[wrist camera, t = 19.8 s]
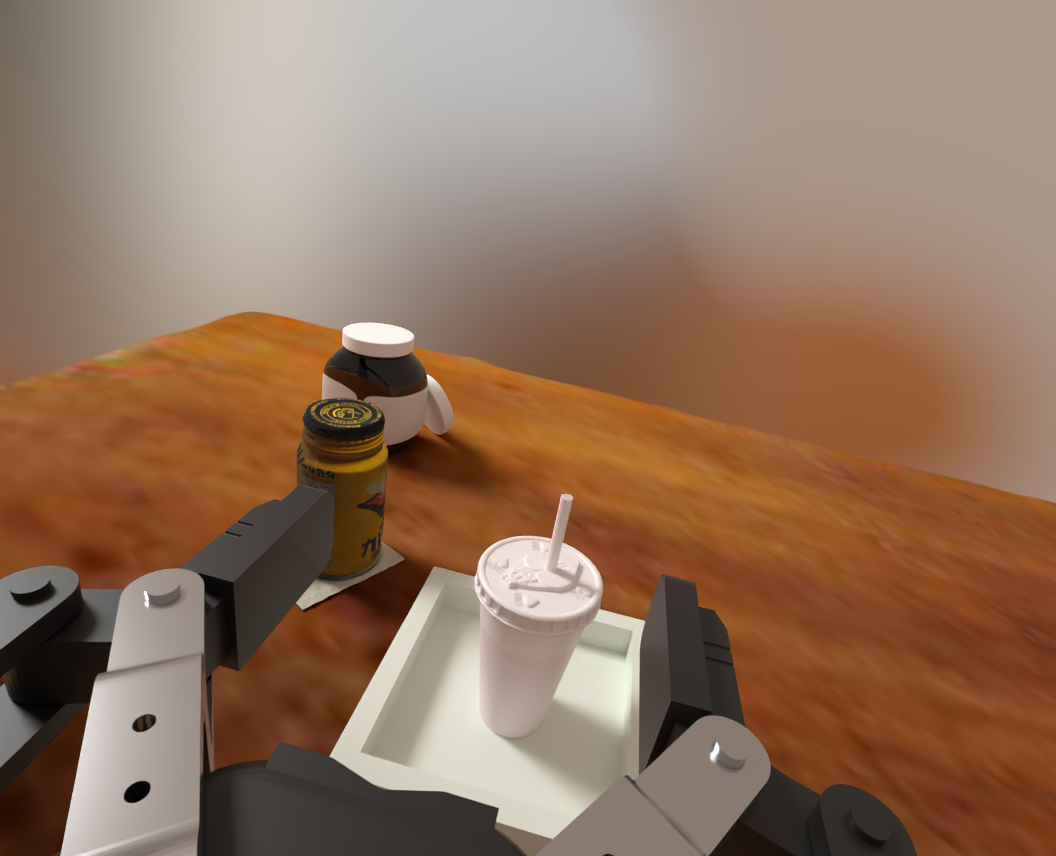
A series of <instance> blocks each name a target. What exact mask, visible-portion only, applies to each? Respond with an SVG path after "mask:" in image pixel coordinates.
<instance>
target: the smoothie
mask: <svg viewBox="0 0 1056 856" xmlns="http://www.w3.org/2000/svg"><path fill="white" fill-rule="evenodd" d="M572 500H573V497H572V496H571V495H568V494H563V495H561V499H560V504H559V509H558V513H557V518H556V522H555V527H554V531H553V536H552V539H549V538H544V537H537V536H518V537H511V538H508V539H504V540H501V541H499V542H497V543H495V544H493V545H492V546H490V547H489V548H488V549H487V550H486V551H485V552H484V553H483V555H482V556H481V558H480V560H479V564H478V570H477V573H476V576H475V579H474V582H475V592H476V594H477V596H478V598H479V601H480V677H479V711H480V715H481V718H482V720H483V722H484V723H485V724H486V726H487V727H488V728H489V729H490V730H492V731H493V732H494V733H496V734H498V735H500V736H503V737H506V738H515V739H516V738H523V737H526V736H529V735H531V734H532V733H534V732H535V731H536V730H537V729H538V728H539V727H540V725H541V723H542V721H543V719H544V716H545V714H546V712H547V710H548V708H549V705H550V703H551V701H552V699H553V696H554V694H555V692H556V690H557V688H558V685H559V683H560V681H561V679H562V676H563V674H564V672H565V670H566V667H567V665H568V663H569V661H570V659H571V656H572V654H573V652H574V650H575V647H576V645H577V643H578V641H579V639H580V637H581V635H582V632H583V630H584V628H585V627H586V626H587V625H588V624H589V623H590V622H591V621H592V620H593V619H594V618H595V617H596V615H597V613H598V611H599V608H600V600H601V597H602V593H603V582H602V578H601V576H600V573H599V572H598V570H597V568H596V567H595V566H594V564H593V563H592V562H591V561H590V560H589V559H588V558H587V557H586V556H585V555H583V554H582V553H581V552H579V551H578V550H576V549H575V548H573V547H571V546H569V545H567V544H565V543H563V539H564V534H565V530H566V526H567V522H568V517H569V513H570V509H571V504H572Z"/></svg>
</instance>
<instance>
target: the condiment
mask: <svg viewBox="0 0 1056 856" xmlns="http://www.w3.org/2000/svg"><path fill="white" fill-rule="evenodd" d="M303 422H304V428H303V433H302V438H303V441H302V442H301V443H300V445H299V447H298V450H297V487H298V486H300V485H305V486H309V487H313V488H317V489H321V490H325V491H329V492H332V493H333V495H334V499H335V504H334V540H333V550H332V553H331V556H330V559H329V561H328V563H327V565H326V567H325V568H324V570H323V571H322V572H321V573H320V575H319V576H318V577H317V578H316V579H315V581H314V582H313V583H312V584H311V585H310V587H309V588H308V589H307V590H306V591H305V593H304V594H303V595H302V596H301V597H300V599H299V600H298V601H297V602H296V604H297V605H298V606H299V607H300V608H301V609H302V610H303V609H305V608H307V607H309V606H311V605H312V604H314V603H317V602H319V601H322V600H324V599H325V598H327V597H328V596H330V595H333V594H335V593H337V592H339V591H341V590H343V589H345V588H348V587H350V586H352V585H354V584H357V583H359V582H361V581H363V580H366V579H367V578H369V577H371V576H373V575H375V574H377V573H379V572H382V571H384V570H386V569H387V568H389V567H391V566H394V565H395V564H397V563H399V562H401V561H402V560H404V559H405V558H403V557H402V556H401V555H399V554H398V553H397V552H396V551H394V550H393V549H392V548H390V547H388V546H387V545H386V544H385V543H383V542H382V533H383V520H384V503H385V491H386V490H385V489H386V476H387V468H388V449H387V447H386V445H385V443H384V438H385V436H384V424H385V417H384V414H383V412H382V411H381V410H380V409H379V408H378V407H377V406H375V405H373V404H372V403H371V402H365V401H362V400H359V399H349V398H334V399H324V400H320V401H317V402H315V403H312V404H311V405H310V406H309V407H308V408H307V410H306V412H305V414H304V416H303ZM318 580H319V581H318Z"/></svg>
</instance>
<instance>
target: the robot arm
mask: <svg viewBox="0 0 1056 856" xmlns="http://www.w3.org/2000/svg"><path fill="white" fill-rule="evenodd" d="M334 504H335V499H334V495H333V493H332V492H329V491H325V490H321V489H317V488H313V487H309V486H305V485H300V486H298V487H297V488H296V489H295V490H293V491H292V492H291V493H290V494H289V495H288V496H287V497H285V498H284V499H283V500H282V501H280V500H276V499H274V500H272V501H269V502H267V503H264V504H262V505H260V506H257V507H255V508H253V509H252V510H250V511H249V512H248V513H247V514H246V515H244V516H243V517H242V518H241V519H240V520H238V523H237V524H236V523H235V524H233V525H232V526H231V527H230V528H229V529H227V530H226V532H225V534H221V535H220V536H219V537H218V538H216V539H215V540H214V541H213V542H212V543H210V544H209V545H208V546H207V547H206V548H204V549H203V550H202V551H201V552H199V553H198V554H197V555H196V556H195V557H193V558H192V559H191V560H190V561H189V562H187V563H186V564H185V565H184V566H182V567H181V568H180V569H165V570H160V571H156V572H152V573H149V574H147V575H144V576H142V577H140V578H138V579H137V580H135V581H133V582H132V583H131V584H130V585H128V586H127V587H126V588H125V589H123V590H111V589H81V588H80V583H79V578H78V576H77V574H76V573H75V572H74V571H73V570H71V569H69V568H66V567H61V566H40V567H34V568H29V569H25V570H22V571H19V572H16V573H14V574H11V575H9V576H7V577H5V578H3V579H1V580H0V678H1V677H3V680H4V684H3V685H2V686H1V687H0V793H1V792H2V791H3V790H4V789H5V788H6V787H7V786H8V785H9V784H10V783H11V782H12V781H13V780H14V779H15V778H16V777H17V776H18V775H19V774H20V773H21V772H22V771H23V770H24V769H25V768H26V767H27V765H28V764H29V763H30V762H31V761H32V760H33V759H34V758H35V757H36V756H37V755H38V754H39V753H40V752H41V751H42V750H43V749H44V748H45V747H46V746H47V745H48V744H49V743H50V742H51V741H52V740H53V739H54V738H55V737H56V736H57V735H58V734H59V733H60V732H61V731H62V730H63V729H64V728H65V727H66V726H67V725H68V724H69V723H70V722H71V721H72V720H73V719H74V718H75V717H76V716H77V715H78V714H79V713H80V712H81V711H82V710H83V709H84V708H85V707H86V706H87V705H88V704H89V703H90V707H89V713H88V718H87V723H86V728H85V733H84V738H83V743H82V748H81V753H80V758H79V763H78V769H77V774H76V779H75V784H74V789H73V794H72V799H71V804H70V809H69V814H68V819H67V825H66V830H65V835H64V840H63V845H62V850H61V851H59V852H58V853H56V854H54V855H52V856H527V855H526V854H525V853H524V852H523V850H522V849H521V848H520V847H519V846H518V845H517V844H516V843H514V842H513V841H512V840H511V839H510V838H509V837H507V836H506V835H505V834H503V833H502V832H500V831H499V830H497V829H496V828H495V824H496V819H497V815H498V811H499V808H497V807H494V806H490V805H487V804H484V803H481V802H477V801H474V800H471V799H467V798H464V797H461V796H457V795H454V794H451V793H447V792H444V791H415V790H386V789H381V788H378V787H377V786H375V785H373V784H372V783H370V782H369V781H367V780H366V779H364V778H363V777H361V776H360V775H358V774H357V773H355V772H354V771H352V770H350V769H349V768H347V767H346V766H344V765H343V764H341V763H340V762H338V761H337V760H335V759H334V758H332V757H328V756H325V755H322V754H319V753H315V752H312V751H309V750H305V749H302V748H299V747H295V746H292V745H289V744H285V743H282V742H280V743H279V745H278V747H277V748H276V750H275V751H274V753H273V754H272V756H271V757H270V759H269V760H258V761H247V762H242V763H237V764H233V765H229V766H226V767H223V768H219V769H216V770H214V710H213V676H212V673H213V671H214V670H215V669H216V668H217V667H218V666H219V665H220V666H223V667H227V668H230V669H234V670H237V671H239V670H240V669H241V668H242V667H243V666H244V664H245V663H246V662H247V661H248V660H249V658H250V657H251V656H252V655H253V654H254V652H255V651H256V650H257V649H258V648H259V647H260V645H261V644H262V643H263V642H264V641H265V639H266V638H267V637H268V636H269V635H270V633H271V632H272V631H273V630H274V629H275V627H276V626H277V625H278V624H279V623H280V621H281V620H282V619H283V618H284V617H285V615H286V614H287V613H288V612H289V611H290V609H291V608H292V607H293V606H294V605H295V603H296V602H297V601H298V600H299V599H300V597H301V596H302V595H303V594H304V593H305V591H306V590H307V589H308V588H309V587H310V585H311V584H312V583H313V582H314V581H315V579H316V578H317V577H318V576H319V575H320V573H321V572H322V571H323V570H324V568H325V567H326V565H327V563H328V561H329V559H330V556H331V553H332V550H333V540H334ZM535 856H917V854H916V851H915V848H914V845H913V843H912V840H911V838H910V836H909V834H908V832H907V830H906V829H905V827H904V826H903V824H902V823H901V822H900V820H899V819H898V818H897V817H896V815H895V814H894V813H893V812H892V811H891V810H890V809H889V808H888V807H887V806H886V805H885V804H883V803H882V802H881V801H880V800H878V799H877V798H875V797H874V796H872V795H871V794H869V793H867V792H866V791H864V790H862V789H859V788H857V787H854V786H850V785H844V784H837V785H832V786H830V787H828V788H827V789H826V790H825V791H824V792H823V794H822V795H819V794H817V793H816V792H814V791H812V790H810V789H809V788H807V787H805V786H803V785H802V784H800V783H798V782H796V781H795V780H793V779H791V778H789V777H788V776H786V775H784V774H783V773H781V772H780V771H778V770H777V769H776V768H774V767H773V766H772V765H771V764H770V760H769V757H768V755H767V752H766V750H765V749H764V747H763V745H762V744H761V742H760V741H759V740H758V739H757V738H756V737H755V735H754V734H752V733H751V732H750V731H749V730H748V729H747V728H746V727H745V723H744V718H743V712H742V707H741V702H740V697H739V691H738V686H737V681H736V675H735V670H734V668H733V660H732V654H731V652H730V644H729V638H728V633H727V629H726V627H725V626H724V624H723V623H722V621H721V620H720V618H719V617H718V615H717V614H716V612H715V611H714V610H710V609H706V608H702V607H699V606H698V598H697V591H696V585H695V583H694V582H691V581H687V580H683V579H679V578H675V577H671V576H667V575H661V577H660V579H659V582H658V585H657V588H656V591H655V594H654V597H653V600H652V603H651V606H650V609H649V612H648V615H647V618H646V621H645V624H644V628H643V632H642V637H641V643H640V671H639V776H638V777H637V778H635V779H634V780H632V779H631V778H630V777H629V776H628V775H625V776H623V777H621V778H620V779H618V780H617V781H616V782H615V783H613V784H612V785H611V786H610V787H609V788H608V789H607V790H606V791H605V792H604V793H603V794H601V795H600V796H599V797H598V798H597V799H596V800H595V801H594V802H593V803H592V804H591V805H589V806H588V807H587V808H586V809H585V810H584V811H583V812H582V813H581V814H580V815H579V816H577V817H576V818H575V819H574V820H573V821H572V822H571V823H570V824H569V825H568V826H567V827H566V828H564V829H563V830H562V831H561V832H560V833H559V834H558V835H557V836H556V837H555V838H554V839H552V840H551V841H550V842H549V843H548V844H547V845H546V846H545V847H544V848H543V849H542V850H540V851H539V852H538V853H537V854H536V855H535Z"/></svg>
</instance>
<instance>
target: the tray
mask: <svg viewBox="0 0 1056 856" xmlns="http://www.w3.org/2000/svg"><path fill="white" fill-rule="evenodd" d="M474 579H475V577H474V576H470V575H466V574H462V573H458V572H455V571H451V570H447V569H443V568H439V567H435V566H434V568H433V570H432V571H431V573H430V575H429V577H428V579H427V580H426V582H425V584H424V586H423V588H422V589H421V591H420V593H419V595H418V597H417V599H416V600H415V602H414V604H413V606H412V608H411V609H410V611H409V613H408V615H407V617H406V619H405V620H404V622H403V624H402V626H401V628H400V629H399V631H398V633H397V635H396V637H395V638H394V640H393V642H392V644H391V646H390V648H389V649H388V651H387V653H386V655H385V657H384V658H383V660H382V662H381V664H380V666H379V668H378V669H377V671H376V673H375V675H374V677H373V678H372V680H371V682H370V684H369V686H368V687H367V689H366V691H365V693H364V695H363V697H362V698H361V700H360V702H359V704H358V706H357V707H356V709H355V711H354V713H353V715H352V717H351V718H350V720H349V722H348V724H347V726H346V727H345V729H344V731H343V733H342V735H341V736H340V738H339V740H338V742H337V744H336V746H335V747H334V749H333V751H332V753H331V755H330V756H329V757H332V758H334V759H335V760H337V761H338V762H340V763H341V764H343V765H344V766H346V767H347V768H349V769H350V770H352V771H354V772H355V773H357V774H358V775H360V776H361V777H363V778H364V779H366V780H367V781H369V782H370V783H372V784H373V785H375V786H377V787H378V788H381V789H386V790H415V791H444V792H447V793H451V794H454V795H457V796H461V797H464V798H467V799H471V800H474V801H477V802H481V803H484V804H487V805H490V806H494V807H497V808H499V811H498V815H497V819H496V824H495V828H496V829H497V830H499V831H500V832H502V833H503V834H505V835H506V836H507V837H509V838H510V839H511V840H512V841H513V842H514V843H516V844H517V845H518V846H519V847H520V848H521V849H522V850H523V852H524V853H525V854H526V855H527V856H535V855H536V854H537V853H538V852H539V851H540V850H542V849H543V848H544V847H545V846H546V845H547V844H548V843H549V842H550V841H551V840H552V839H554V838H555V837H556V836H557V835H558V834H559V833H560V832H561V831H562V830H563V829H564V828H566V827H567V826H568V825H569V824H570V823H571V822H572V821H573V820H574V819H575V818H576V817H577V816H579V815H580V814H581V813H582V812H583V811H584V810H585V809H586V808H587V807H588V806H589V805H591V804H592V803H593V802H594V801H595V800H596V799H597V798H598V797H599V796H600V795H601V794H603V793H604V792H605V791H606V790H607V789H608V788H609V787H610V786H611V785H612V784H613V783H615V782H616V781H617V780H618V779H620V778H621V777H623V776H625V775H628V776H629V777H630V778H631V779H632V780H634V779H635V778H637V777H638V776H639V671H640V643H641V637H642V632H643V628H644V624H645V621H643V620H639V619H635V618H631V617H627V616H623V615H620V614H616V613H612V612H608V611H604V610H600V609H599V611H598V613H597V615H596V617H595V618H594V619H593V620H592V621H591V622H590V623H589V624H588V625H587V626H586V627H585V628H584V630H583V632H582V635H581V637H580V639H579V641H578V643H577V645H576V647H575V650H574V652H573V654H572V656H571V659H570V661H569V663H568V665H567V667H566V670H565V672H564V674H563V676H562V679H561V681H560V683H559V685H558V688H557V690H556V692H555V694H554V696H553V699H552V701H551V703H550V705H549V708H548V710H547V712H546V714H545V716H544V719H543V721H542V723H541V725H540V727H539V728H538V729H537V730H536V731H535V732H534V733H532V734H531V735H529V736H526V737H523V738H516V739H515V738H506V737H503V736H500V735H498V734H496V733H494V732H493V731H492V730H490V729H489V728H488V727H487V726H486V724H485V723H484V722H483V720H482V718H481V715H480V711H479V677H480V601H479V598H478V596H477V594H476V592H475V582H474Z"/></svg>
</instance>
